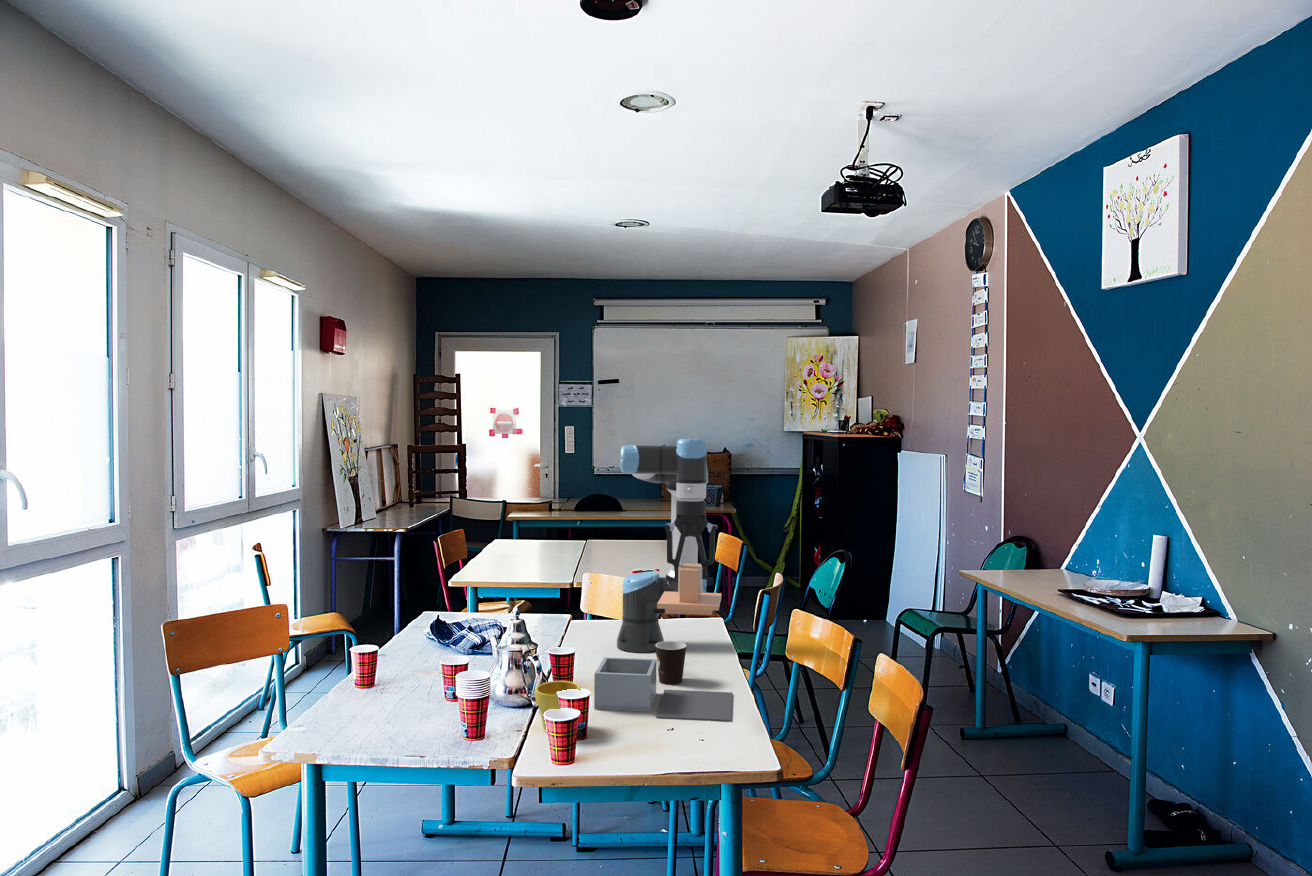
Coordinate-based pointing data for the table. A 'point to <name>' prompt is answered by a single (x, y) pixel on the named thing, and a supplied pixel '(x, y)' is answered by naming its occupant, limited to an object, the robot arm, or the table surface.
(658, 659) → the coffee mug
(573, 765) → the table surface
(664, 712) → the mat
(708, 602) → the lid
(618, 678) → the storage box
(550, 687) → the plant pot
